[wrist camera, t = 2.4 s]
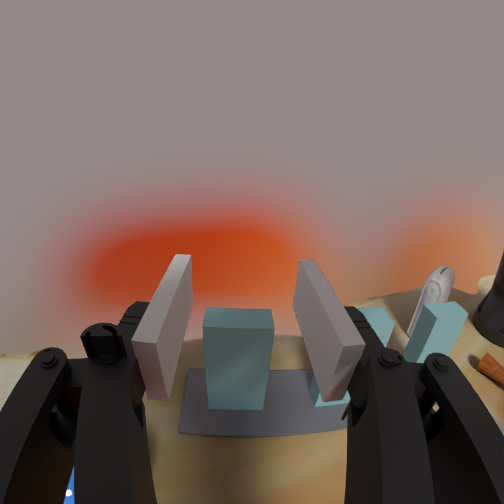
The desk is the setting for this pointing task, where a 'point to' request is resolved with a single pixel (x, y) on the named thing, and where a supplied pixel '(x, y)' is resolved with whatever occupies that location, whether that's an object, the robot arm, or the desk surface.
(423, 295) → the photo printer
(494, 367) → the kendama
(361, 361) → the robot arm
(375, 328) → the tile
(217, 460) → the desk surface
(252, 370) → the tile
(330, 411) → the mat
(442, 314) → the tile
